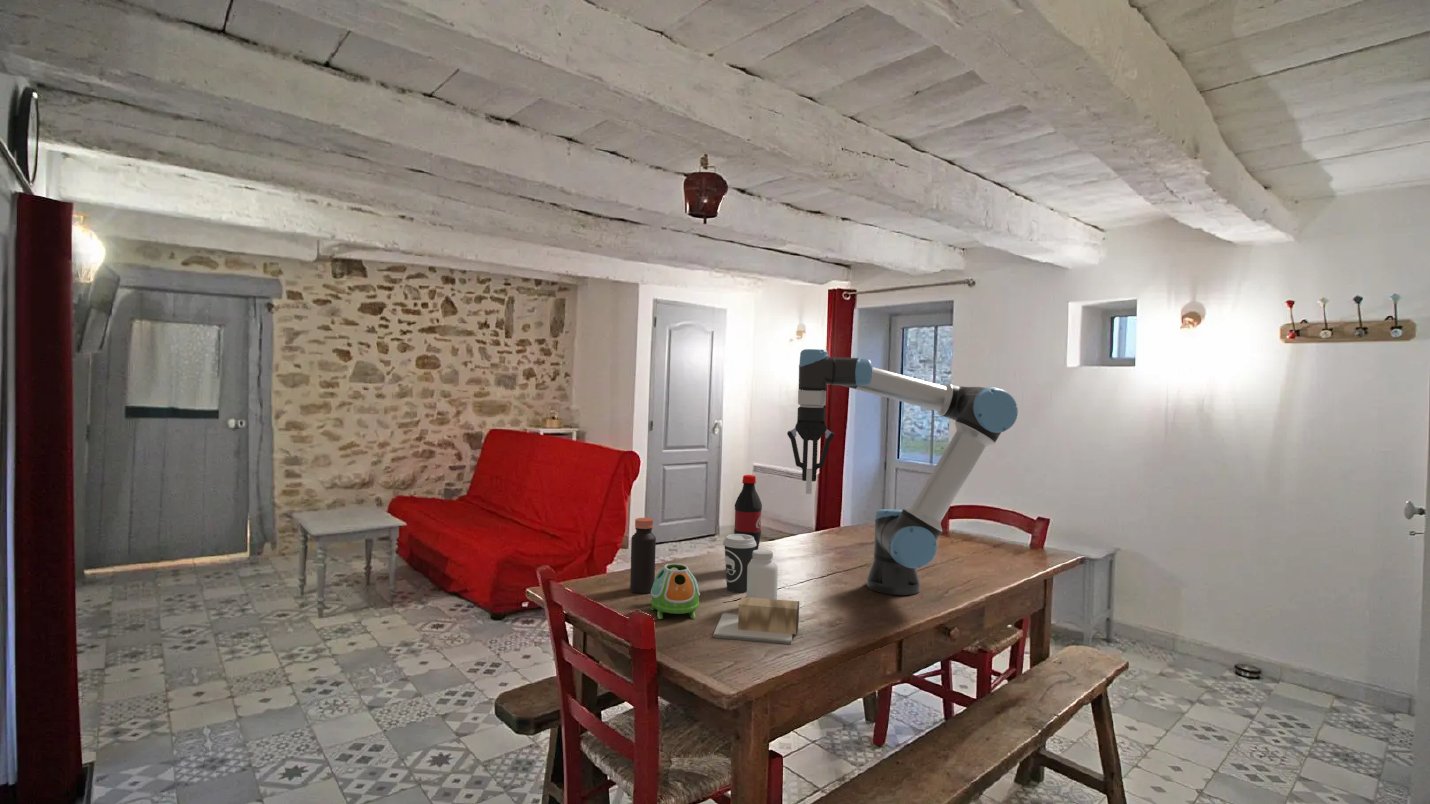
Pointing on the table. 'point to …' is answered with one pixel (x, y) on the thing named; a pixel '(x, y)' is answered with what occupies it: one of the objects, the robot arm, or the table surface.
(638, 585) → the vinegar
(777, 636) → the shallow grey tray
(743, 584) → the coffee cup
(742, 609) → the oak block
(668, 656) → the table surface
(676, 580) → the turtle holder
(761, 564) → the pill bottle
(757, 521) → the cola bottle
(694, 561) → the table surface
